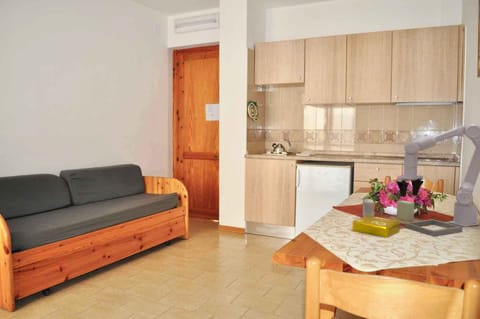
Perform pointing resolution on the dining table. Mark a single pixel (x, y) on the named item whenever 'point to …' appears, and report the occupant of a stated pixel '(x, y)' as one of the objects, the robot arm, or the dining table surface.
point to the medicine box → (368, 207)
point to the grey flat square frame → (449, 229)
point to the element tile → (376, 226)
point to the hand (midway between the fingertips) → (409, 196)
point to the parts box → (405, 210)
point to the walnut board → (402, 220)
